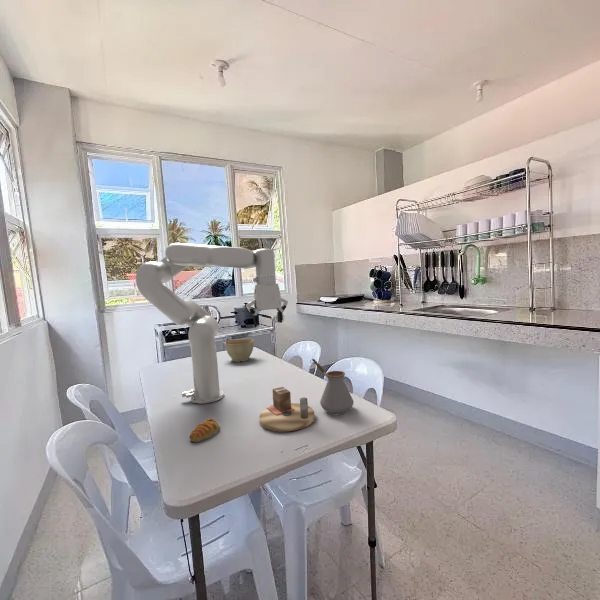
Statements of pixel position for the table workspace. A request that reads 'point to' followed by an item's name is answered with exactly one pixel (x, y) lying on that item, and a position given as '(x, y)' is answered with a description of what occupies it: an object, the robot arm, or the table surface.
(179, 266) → the robot arm
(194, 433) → the pastry
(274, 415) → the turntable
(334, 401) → the coffee pot
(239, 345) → the planter bowl
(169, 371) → the table surface
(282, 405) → the cardboard box
